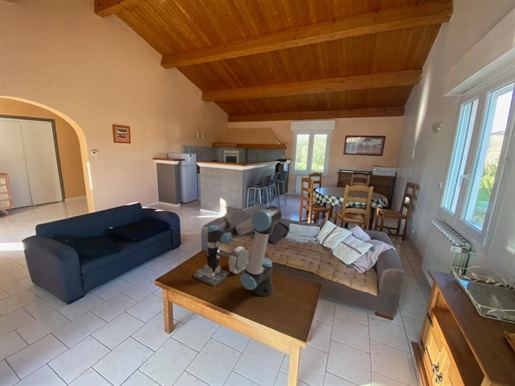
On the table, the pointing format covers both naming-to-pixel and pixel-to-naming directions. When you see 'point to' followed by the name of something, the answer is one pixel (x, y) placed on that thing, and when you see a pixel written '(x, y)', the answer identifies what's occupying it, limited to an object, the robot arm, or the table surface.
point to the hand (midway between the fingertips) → (212, 275)
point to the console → (214, 280)
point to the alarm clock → (238, 260)
